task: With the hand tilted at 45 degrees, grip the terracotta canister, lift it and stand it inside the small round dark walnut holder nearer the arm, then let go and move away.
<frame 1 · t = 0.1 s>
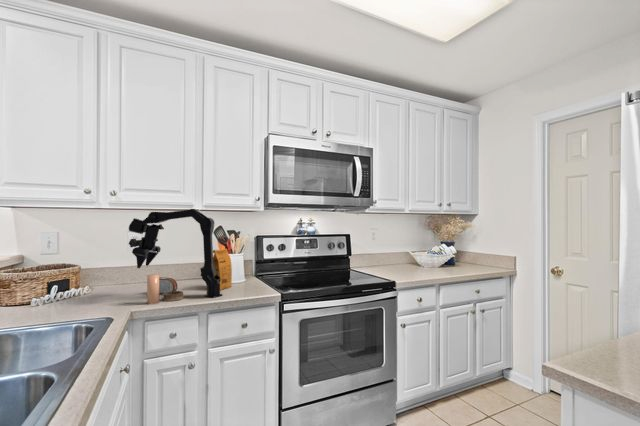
hand: (142, 266, 165), 15 cm above the worktop, tool pointing down, fingers open, 9 cm apart
coffee package: (220, 288, 187), on the worktop
canister: (153, 303, 155), on the worktop
tin: (163, 294, 175), on the worktop
holder: (173, 299, 162), on the worktop
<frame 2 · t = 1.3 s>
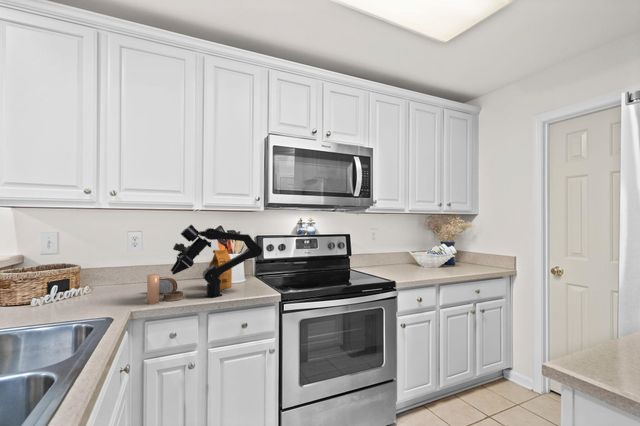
hand: (172, 272, 159), 13 cm above the worktop, tool tilted 45°, fingers open, 9 cm apart
nothing on the worktop moved.
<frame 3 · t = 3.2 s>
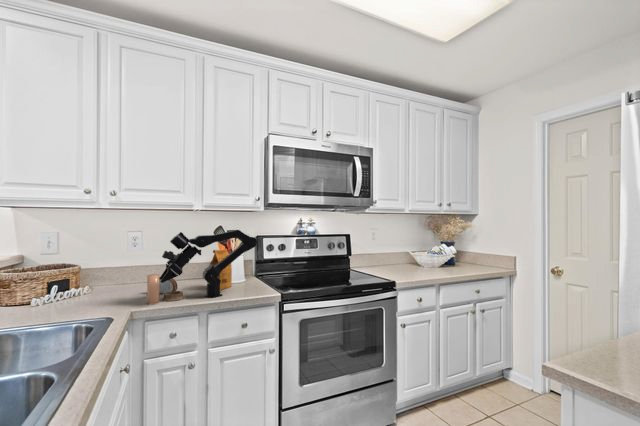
hand: (160, 280, 157), 10 cm above the worktop, tool tilted 45°, fingers open, 9 cm apart
nothing on the worktop moved.
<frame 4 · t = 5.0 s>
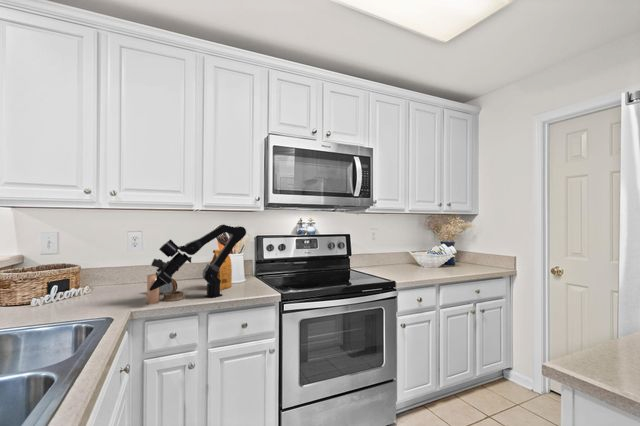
hand: (149, 289, 155), 7 cm above the worktop, tool tilted 45°, fingers closed on canister, 5 cm apart
canister: (153, 302, 155), on the worktop, touching gripper
everything else where it was.
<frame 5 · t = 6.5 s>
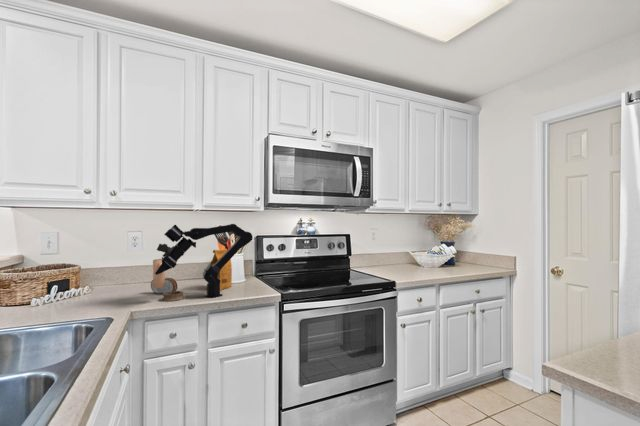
hand: (155, 273, 157), 13 cm above the worktop, tool tilted 45°, fingers closed on canister, 5 cm apart
canister: (159, 287, 157), point 7 cm above the worktop, touching gripper
everything else where it was.
when the fingers open (9 cm above the worktop, at t = 8.4 s): canister drops 1 cm, resting on holder.
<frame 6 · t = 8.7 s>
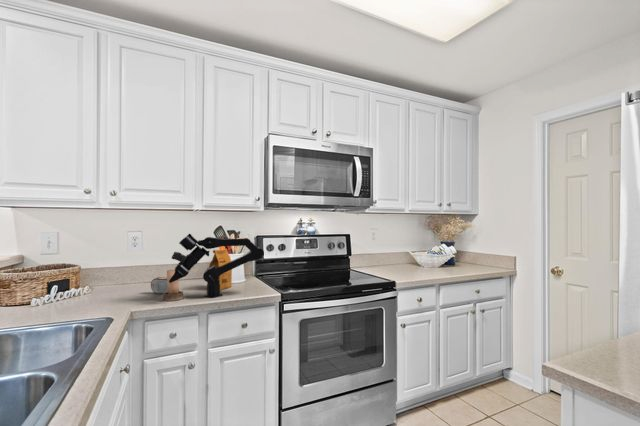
hand: (170, 280, 162), 9 cm above the worktop, tool tilted 45°, fingers open, 8 cm apart
canister: (173, 296, 162), point 1 cm above the worktop, touching holder
everything else where it was.
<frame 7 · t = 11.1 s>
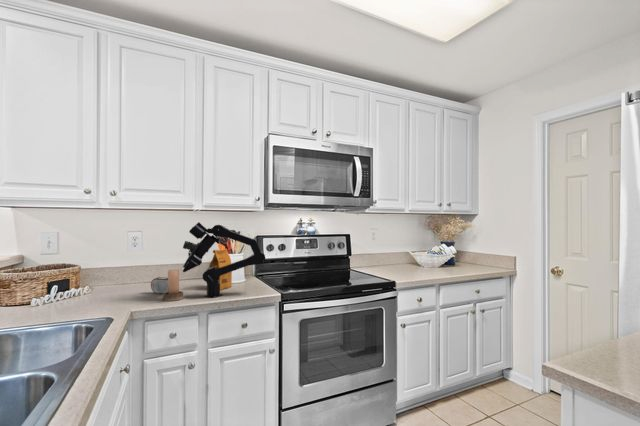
hand: (183, 269, 165), 14 cm above the worktop, tool tilted 40°, fingers open, 9 cm apart
nothing on the worktop moved.
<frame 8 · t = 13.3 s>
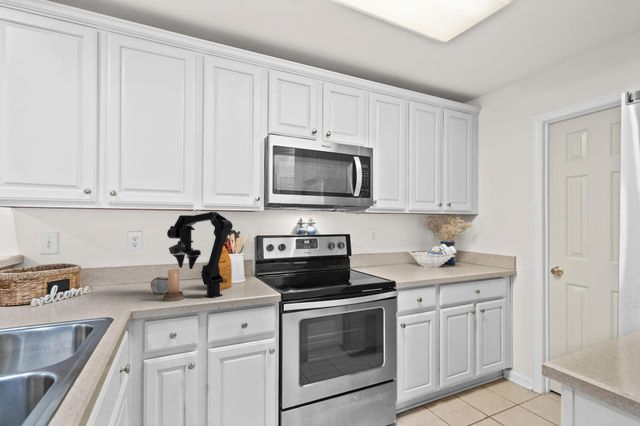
hand: (185, 268, 175), 13 cm above the worktop, tool pointing down, fingers open, 9 cm apart
nothing on the worktop moved.
at the end: canister 0.1 cm off-centre on the holder, point 1.0 cm above the holder's base; canister tilted 0°; the gripper is holding nothing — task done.
